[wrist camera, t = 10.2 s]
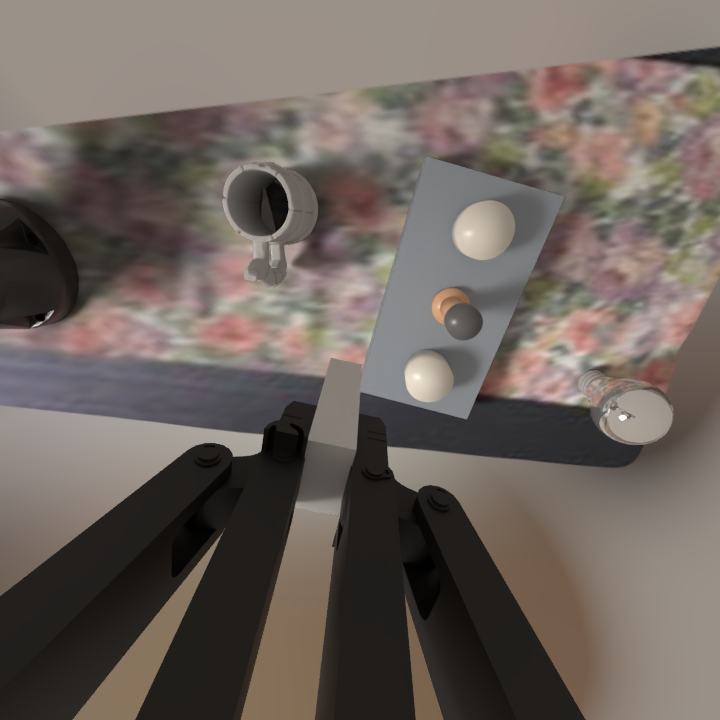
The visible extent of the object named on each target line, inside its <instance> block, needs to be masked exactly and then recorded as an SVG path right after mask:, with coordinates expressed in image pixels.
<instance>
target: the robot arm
mask: <svg viewBox="0 0 720 720" xmlns="http://www.w3.org/2000/svg"><path fill="white" fill-rule="evenodd" d="M77 292H78V278H77V272H76V268H75V265H74V262H73V259H72V257H71V255H70V253H69V251H68V249H67V247H66V246H65V244H64V242H63V241H62V240H61V238H60V237H59V236H58V234H57V233H56V232H55V231H54V230H53V229H52V228H51V227H50V226H49V225H48V224H47V223H46V222H45V221H44V220H43V219H41V218H40V217H39V216H38V215H36V214H35V213H33V212H32V211H30V210H28V209H26V208H24V207H22V206H20V205H18V204H15V203H12V202H8V201H4V200H0V329H31V328H37V327H41V326H44V325H47V324H51V323H54V322H56V321H59V320H60V319H62V318H63V317H65V316H66V315H67V314H68V313H69V312H70V310H71V309H72V307H73V305H74V303H75V301H76V297H77ZM361 369H362V365H361V364H356V363H352V362H347V361H342V360H338V359H333V358H331V360H330V364H329V367H328V371H327V374H326V377H325V381H324V384H323V388H322V391H321V395H320V398H319V402H318V405H317V406H315V405H311V404H306V403H301V402H296V401H294V402H292V403H291V404H289V405H288V406H286V408H285V410H284V412H283V415H282V417H281V419H280V420H279V421H274V422H272V423H270V424H268V425H267V426H266V427H265V428H264V436H263V443H262V450H261V452H260V453H258V454H255V455H251V456H243V457H233V454H232V452H231V451H230V449H229V448H227V447H225V446H223V445H220V444H215V443H204V444H201V445H197V446H195V447H192V448H191V449H189V450H187V451H186V452H185V453H184V454H182V455H181V456H180V457H178V458H177V459H176V460H175V461H173V462H172V463H171V464H169V465H168V466H167V467H166V468H164V469H163V470H162V471H160V472H159V473H158V474H157V475H155V476H154V477H153V478H151V479H150V480H149V481H148V482H147V483H145V484H144V485H142V486H141V487H140V488H139V489H137V490H136V491H135V492H134V493H132V494H131V495H130V496H128V497H127V498H126V499H125V500H124V501H122V502H121V503H120V504H118V505H117V506H116V507H114V508H113V509H112V510H110V511H109V512H108V513H107V514H105V515H104V516H103V517H101V518H100V519H99V520H98V521H96V522H95V523H94V524H93V525H91V526H90V527H89V528H88V529H86V530H85V531H83V532H82V533H81V534H80V535H78V536H77V537H76V538H74V540H72V541H71V542H69V543H68V544H67V545H66V546H64V547H63V548H62V549H60V550H59V551H58V552H57V553H55V554H54V555H53V556H51V557H50V558H49V559H48V560H46V561H45V562H44V563H42V564H41V565H40V566H39V567H37V568H36V569H35V570H34V571H32V572H31V573H30V574H28V575H27V576H26V577H24V578H23V579H22V580H21V581H20V582H18V583H17V584H15V585H14V586H13V587H12V588H11V589H9V590H8V591H6V592H5V593H4V594H3V595H1V596H0V720H72V719H73V718H74V717H75V716H76V714H77V713H78V712H79V711H80V709H81V708H82V707H83V706H84V704H85V703H86V702H87V701H88V699H89V698H90V697H91V696H92V695H93V693H94V692H95V691H96V689H97V688H98V687H99V686H100V684H101V683H102V682H103V681H104V680H105V678H106V677H107V676H108V675H109V673H110V672H111V671H112V670H113V668H114V667H115V666H116V664H117V663H118V662H119V661H120V660H121V658H122V657H123V656H124V655H125V653H126V652H127V650H129V648H130V647H131V646H132V645H133V643H134V642H135V641H136V639H137V638H138V637H139V636H140V634H141V633H142V632H143V631H144V630H145V628H146V627H147V626H148V625H149V623H150V622H151V621H152V620H153V618H154V617H155V616H156V615H157V613H158V612H159V611H160V610H161V609H162V607H163V606H164V605H165V604H166V602H167V601H168V600H169V599H170V597H171V596H172V595H173V594H174V592H175V591H176V590H177V589H178V587H179V586H180V585H181V584H182V582H183V581H184V580H185V579H186V577H187V576H188V575H189V574H190V572H191V571H192V570H193V568H194V567H195V566H196V565H197V563H198V562H199V561H200V560H201V558H202V557H203V556H204V555H205V554H206V552H207V551H208V550H209V549H210V547H211V546H212V545H213V544H214V543H215V541H216V540H217V539H218V538H219V536H220V535H221V534H222V532H223V531H224V532H223V534H222V536H221V538H220V540H219V542H218V545H217V547H216V549H215V551H214V553H213V555H212V557H211V559H210V562H209V564H208V566H207V568H206V570H205V572H204V574H203V577H202V579H201V581H200V583H199V585H198V587H197V589H196V592H195V594H194V596H193V598H192V600H191V602H190V605H189V607H188V609H187V611H186V613H185V615H184V617H183V619H182V621H181V624H180V626H179V628H178V630H177V632H176V634H175V636H174V639H173V641H172V643H171V645H170V647H169V649H168V651H167V653H166V656H165V658H164V660H163V662H162V664H161V666H160V668H159V670H158V673H157V675H156V677H155V679H154V681H153V684H152V685H151V688H150V690H149V692H148V694H147V696H146V698H145V701H144V703H143V705H142V707H141V709H140V711H139V713H138V715H137V718H136V720H241V716H242V712H243V708H244V704H245V700H246V697H247V693H248V689H249V685H250V681H251V677H252V673H253V670H254V665H255V662H256V658H257V654H258V650H259V646H260V642H261V638H262V635H263V631H264V627H265V623H266V619H267V615H268V611H269V608H270V604H271V600H272V596H273V592H274V588H275V584H276V580H277V577H278V573H279V568H280V565H281V561H282V557H283V553H284V550H285V546H286V542H287V538H288V534H289V530H290V526H291V522H292V518H293V513H294V508H299V509H304V510H310V511H315V512H320V513H325V514H331V515H336V516H339V514H340V519H339V523H338V526H337V530H336V534H335V537H334V541H333V545H332V547H335V548H334V557H333V566H332V575H331V583H330V592H329V601H328V610H327V618H326V628H325V636H324V645H323V653H322V654H323V655H322V663H321V671H320V680H319V689H318V697H317V706H316V715H315V720H416V719H415V707H414V696H413V685H412V673H411V662H410V650H409V639H408V627H407V616H406V606H405V596H406V599H407V603H408V606H409V609H410V612H411V616H412V619H413V622H414V625H415V629H416V632H417V635H418V638H419V642H420V645H421V648H422V651H423V654H424V658H425V661H426V664H427V667H428V671H429V674H430V677H431V680H432V683H433V687H434V690H435V693H436V696H437V699H438V703H439V706H440V709H441V712H442V716H443V719H444V720H585V718H584V716H583V715H582V713H581V712H580V709H579V708H578V706H577V704H576V703H575V701H574V699H573V697H572V696H571V694H570V692H569V691H568V689H567V687H566V685H565V684H564V682H563V680H562V679H561V677H560V675H559V673H558V672H557V670H556V668H555V667H554V665H553V663H552V661H551V660H550V658H549V656H548V655H547V653H546V651H545V649H544V648H543V646H542V644H541V642H540V641H539V639H538V637H537V636H536V634H535V632H534V631H533V629H532V627H531V625H530V624H529V622H528V620H527V618H526V617H525V615H524V613H523V612H522V610H521V608H520V606H519V605H518V603H517V601H516V600H515V598H514V596H513V594H512V593H511V591H510V589H509V588H508V586H507V584H506V582H505V581H504V579H503V577H502V575H501V574H500V572H499V570H498V569H497V567H496V565H495V564H494V562H493V560H492V558H491V556H490V555H489V553H488V552H487V550H486V548H485V547H484V544H483V543H482V541H481V539H480V538H479V536H478V534H477V532H476V531H475V529H474V527H473V526H472V524H471V522H470V521H469V519H468V517H467V516H466V513H465V512H464V510H463V508H462V507H461V505H460V503H459V502H458V501H457V499H456V498H455V497H454V495H452V494H451V493H449V492H448V491H447V490H445V489H443V488H440V487H438V486H432V485H429V486H424V487H422V488H421V489H419V491H418V492H415V491H413V490H411V489H409V488H407V487H405V486H403V485H401V484H400V483H399V482H397V481H396V480H395V479H394V475H393V472H392V470H391V469H390V468H389V467H388V456H387V443H386V441H387V440H386V426H385V425H384V423H383V422H382V420H381V419H380V418H377V417H372V416H368V415H363V414H359V402H360V385H361ZM340 510H341V511H340ZM224 529H225V530H224Z"/></svg>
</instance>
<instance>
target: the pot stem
mask: <svg viewBox="0 0 720 720" xmlns="http://www.w3.org/2000/svg"><path fill="white" fill-rule="evenodd" d="M431 310H432V313H433V315H434V317H435V319H436V320H437V321H438V322H440V323H441V324H443V325H445V327H446V329H447V331H448V332H449V334H450V335H451V336H452V337H453V338H455V339H457V340H462V341H465V340H470V339H472V338H474V337H475V336H476V335H477V334H478V333H479V332H480V331H481V329H482V326H483V318H482V315H481V313H480V312H479V311H478V310H477V309H476V308H475V307H474V306H472V305H470V301H469V298H468V297H467V295H466V294H465V293H464V292H463V291H461V290H460V289H458V288H454V287H448V288H444V289H442V290H440V291H439V292H438V293H437V294H436V295H435V296H434V298H433V300H432V303H431Z"/></svg>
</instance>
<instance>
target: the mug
mask: <svg viewBox="0 0 720 720" xmlns="http://www.w3.org/2000/svg"><path fill="white" fill-rule="evenodd" d="M272 182H275V183H277V184H279V185H280V186H282V187H284V189H285V192H286V194H287V198H288V204H289V211H288V215H287V218H286V221H285V223H284V224H283V225H282V227H281V228H280V229H279V230H278V231H277V232H276V228H275V224H274V220H273V216H272V213H271V209H270V205H269V201H268V197H267V193H266V188H267V186H268V185H269V184H271V183H272ZM223 192H224V193H223V196H224V197H226V198H223V200H222V201H223V207H224V211H225V214H226V216H227V219H228V220H229V222H230V224H231V225H232V227H233V228H234V229H235V230H236V231H237V232H238V233H240V234H241V235H242V236H243V237H245V238H247V239H249V240H252V241H254V247H253V254H254V258H253V260H252V261H251V262H250V263H249V265H248V266H247V268H246V270H245V273H244V279H245V280H250V281H258V282H260V283H261V284H262V285H264V286H265V287H276V286H277V285H279V284H280V283H281V282H282V281H283V280H284V278H285V276H286V269H287V263H286V259H285V252H284V245H290V244H295V243H298V242H300V241H302V240H303V239H305V238H306V237H307V236H308V235H309V234H310V233H311V232H312V230H313V228H314V226H315V224H316V221H317V217H318V202H317V198H316V194H315V192H314V190H313V188H312V187H311V185H310V184H309V182H308V181H307V180H306V179H305V178H304V177H303V176H301V175H300V174H299V173H297V172H296V171H293V170H290V169H289V168H286V167H283V168H282V167H280V166H278V165H276V164H275V163H272V162H268V163H267V162H266V163H247V164H244V165H242V166H239V167H238V168H236V169H235V170H234V171H233V172H232V173H231V174H230V175H229V177H228V178H227V180H226V182H225V185H224V189H223ZM262 195H263V196H262ZM261 198H262V207H261V205H260V203H261ZM269 245H271V256H272V261H270V263H269Z"/></svg>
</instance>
